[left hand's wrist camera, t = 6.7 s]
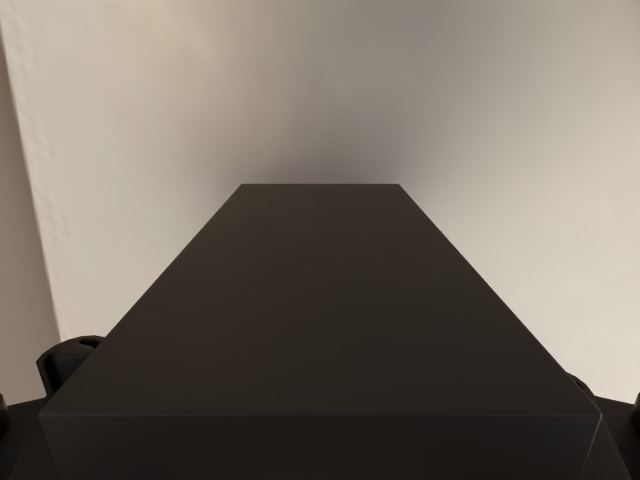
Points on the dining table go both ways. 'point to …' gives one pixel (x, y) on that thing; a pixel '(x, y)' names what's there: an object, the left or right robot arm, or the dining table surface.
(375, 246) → the box
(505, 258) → the dining table surface
